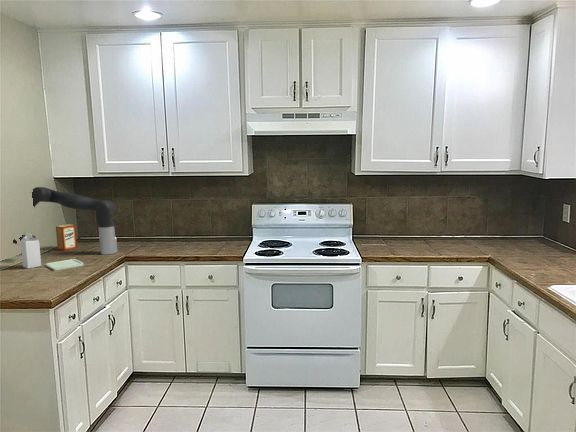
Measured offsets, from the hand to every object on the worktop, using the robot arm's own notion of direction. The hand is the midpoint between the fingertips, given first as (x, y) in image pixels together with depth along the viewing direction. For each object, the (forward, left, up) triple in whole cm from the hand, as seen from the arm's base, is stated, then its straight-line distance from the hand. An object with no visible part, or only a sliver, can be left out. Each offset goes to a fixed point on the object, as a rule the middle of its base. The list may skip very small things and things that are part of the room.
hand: (24, 241), depth 259 cm
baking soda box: (-30, -25, -13) cm, 41 cm away
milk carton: (0, +11, -13) cm, 18 cm away
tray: (-14, +22, -13) cm, 30 cm away
